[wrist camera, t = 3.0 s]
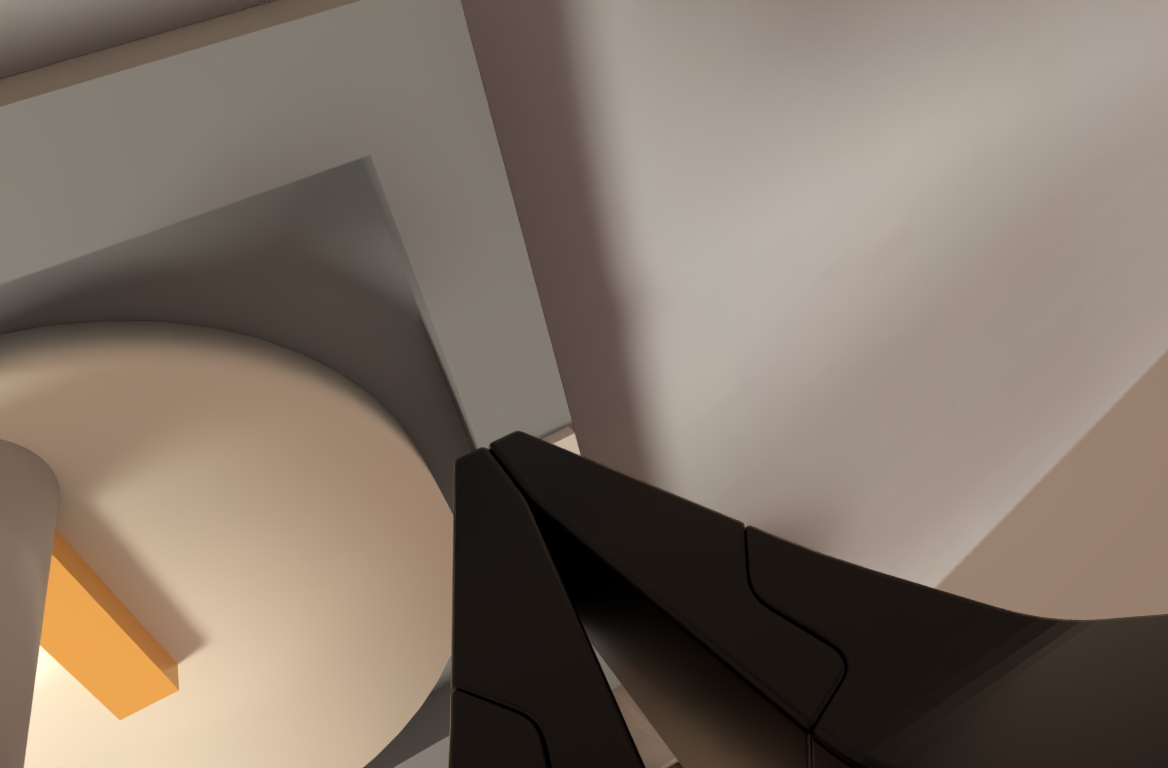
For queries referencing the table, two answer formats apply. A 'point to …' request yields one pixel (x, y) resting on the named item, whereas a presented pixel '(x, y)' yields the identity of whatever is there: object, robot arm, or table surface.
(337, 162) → the dial panel
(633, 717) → the cupcake
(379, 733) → the dial
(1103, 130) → the table surface
